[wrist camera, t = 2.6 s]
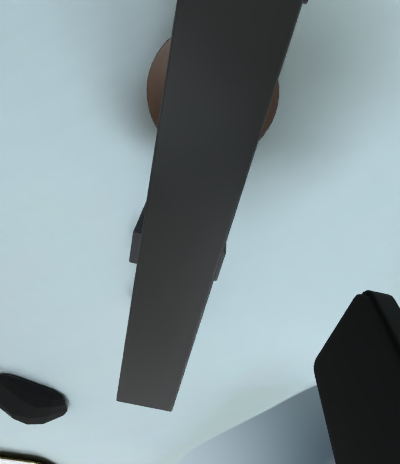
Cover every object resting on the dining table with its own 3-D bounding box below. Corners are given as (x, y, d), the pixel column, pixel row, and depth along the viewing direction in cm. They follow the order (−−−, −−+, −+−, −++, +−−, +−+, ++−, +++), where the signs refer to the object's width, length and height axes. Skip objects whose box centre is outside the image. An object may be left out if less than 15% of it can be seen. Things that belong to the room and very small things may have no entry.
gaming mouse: (-24, 358, 49) (-42, 384, 45) (75, 397, 52) (64, 423, 49) (-33, 379, 52) (-51, 405, 49) (61, 415, 55) (50, 441, 52)
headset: (301, -49, 19) (490, -192, 5) (219, 226, 29) (208, 429, 15) (195, -78, 19) (93, -313, 5) (149, 210, 29) (72, 403, 15)
